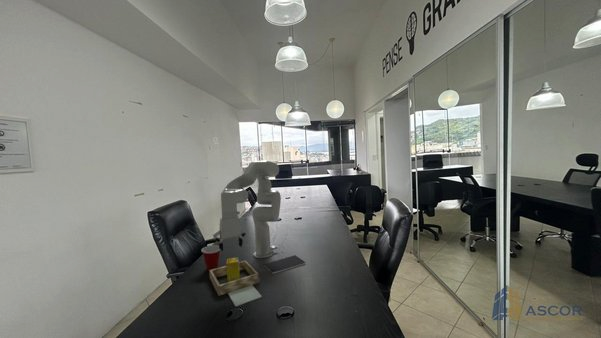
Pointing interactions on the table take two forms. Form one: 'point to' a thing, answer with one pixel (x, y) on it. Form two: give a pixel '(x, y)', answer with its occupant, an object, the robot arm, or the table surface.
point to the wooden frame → (236, 283)
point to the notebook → (284, 264)
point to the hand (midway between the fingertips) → (231, 248)
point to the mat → (244, 295)
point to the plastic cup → (211, 256)
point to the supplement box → (233, 269)
